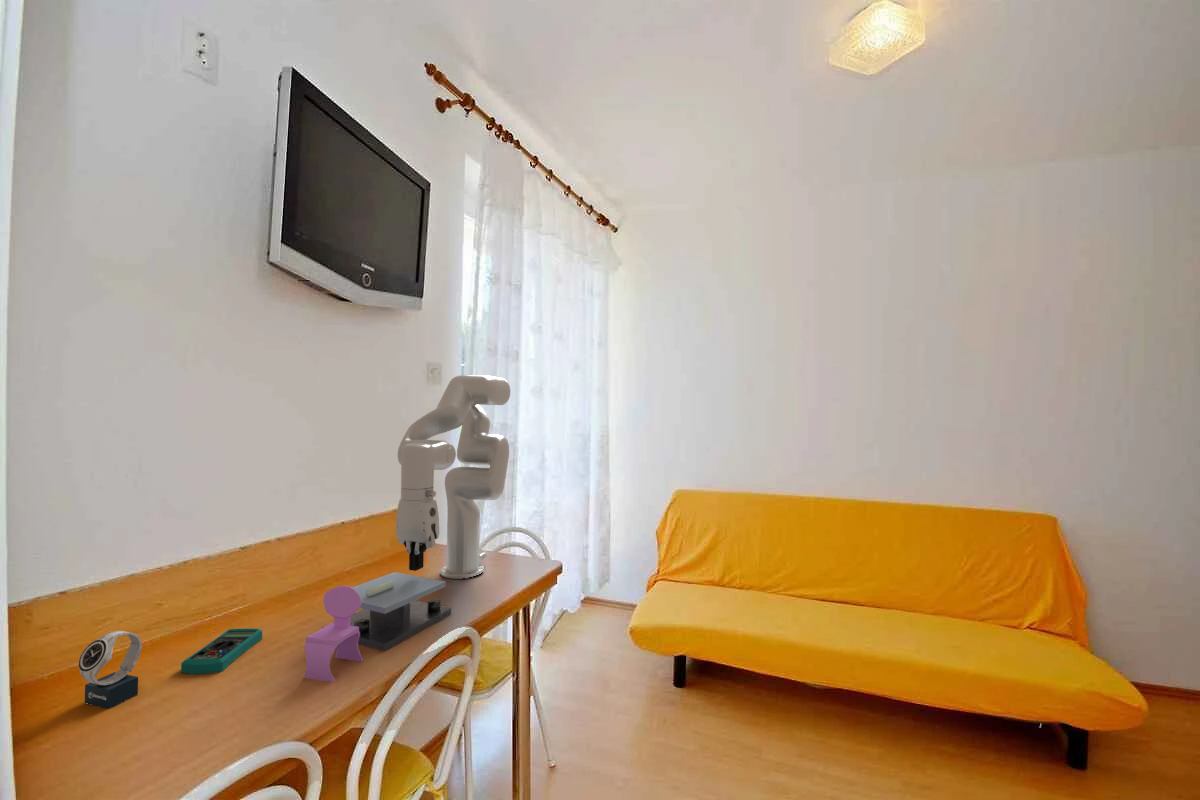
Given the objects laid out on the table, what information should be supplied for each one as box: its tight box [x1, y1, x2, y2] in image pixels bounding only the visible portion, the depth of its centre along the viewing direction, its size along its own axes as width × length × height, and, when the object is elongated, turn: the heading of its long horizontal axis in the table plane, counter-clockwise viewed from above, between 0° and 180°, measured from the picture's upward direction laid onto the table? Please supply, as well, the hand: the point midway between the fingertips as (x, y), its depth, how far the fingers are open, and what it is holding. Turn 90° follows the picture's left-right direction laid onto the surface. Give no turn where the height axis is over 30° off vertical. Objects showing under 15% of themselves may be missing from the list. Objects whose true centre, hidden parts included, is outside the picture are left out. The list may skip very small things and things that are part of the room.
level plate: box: [351, 571, 447, 614], centre depth 122 cm, size 19×16×3 cm
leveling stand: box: [321, 598, 452, 652], centre depth 121 cm, size 21×18×6 cm
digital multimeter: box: [180, 628, 263, 675], centre depth 105 cm, size 7×15×3 cm, turn 5°
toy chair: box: [304, 585, 365, 683], centre depth 101 cm, size 8×9×15 cm
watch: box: [78, 630, 143, 710], centre depth 89 cm, size 6×8×11 cm
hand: (416, 568), depth 129 cm, fingers closed
